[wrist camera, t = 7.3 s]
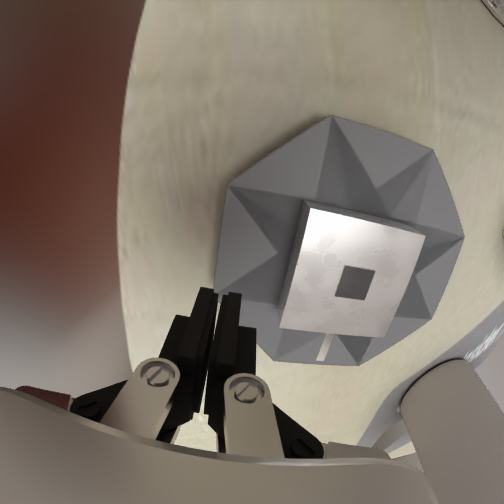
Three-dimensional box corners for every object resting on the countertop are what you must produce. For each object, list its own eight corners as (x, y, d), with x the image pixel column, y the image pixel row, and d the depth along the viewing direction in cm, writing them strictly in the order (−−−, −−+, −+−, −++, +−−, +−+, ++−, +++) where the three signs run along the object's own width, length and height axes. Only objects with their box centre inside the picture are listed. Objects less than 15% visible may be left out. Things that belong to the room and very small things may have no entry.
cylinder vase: (392, 388, 31) (452, 551, 8) (469, 341, 29) (557, 477, 6) (403, 425, 35) (446, 549, 12) (467, 387, 33) (527, 498, 10)
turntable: (471, 169, 20) (481, 172, 18) (401, 356, 28) (406, 365, 26) (242, 100, 19) (241, 97, 17) (208, 341, 26) (206, 352, 25)
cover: (410, 225, 20) (426, 236, 18) (374, 320, 24) (384, 338, 21) (304, 200, 20) (311, 208, 17) (276, 309, 23) (279, 328, 21)
